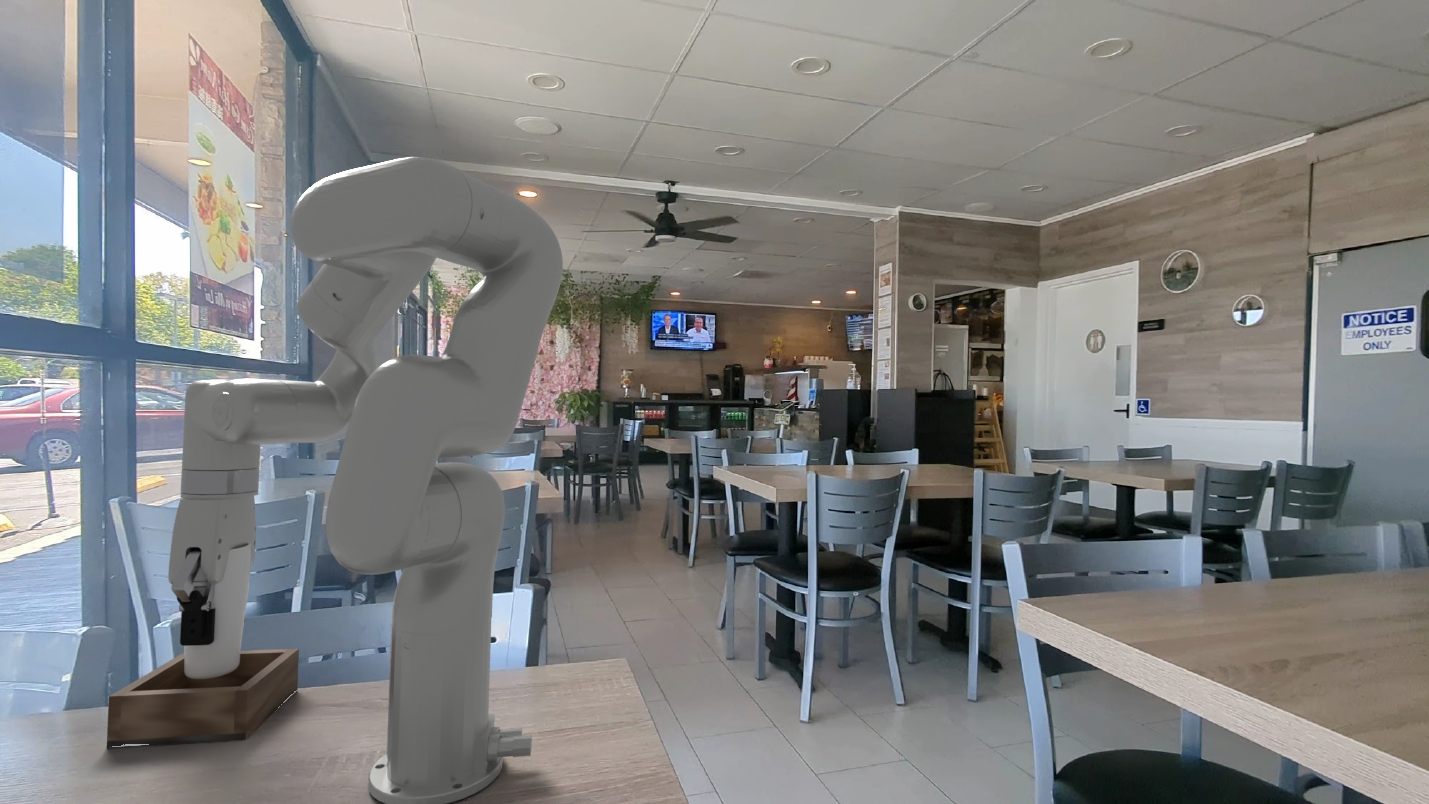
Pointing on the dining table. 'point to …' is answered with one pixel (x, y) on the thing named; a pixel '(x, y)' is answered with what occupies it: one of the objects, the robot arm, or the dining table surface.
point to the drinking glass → (223, 620)
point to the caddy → (202, 701)
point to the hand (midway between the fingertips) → (213, 633)
